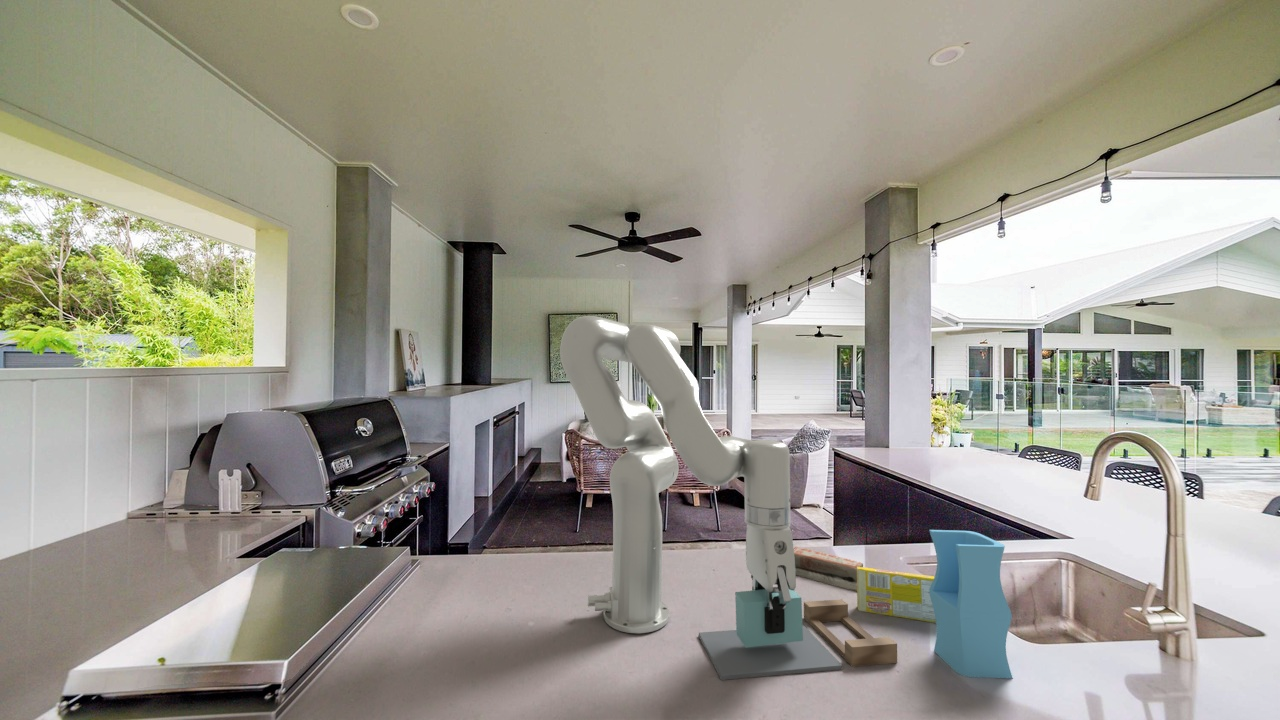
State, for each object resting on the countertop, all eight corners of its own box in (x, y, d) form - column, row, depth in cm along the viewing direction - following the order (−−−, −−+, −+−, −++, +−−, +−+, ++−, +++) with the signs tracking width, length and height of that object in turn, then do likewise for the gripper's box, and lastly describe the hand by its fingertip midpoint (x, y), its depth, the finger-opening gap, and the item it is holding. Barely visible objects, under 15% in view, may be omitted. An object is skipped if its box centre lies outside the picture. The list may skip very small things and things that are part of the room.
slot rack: (852, 666, 73) (852, 647, 73) (803, 617, 88) (803, 601, 88) (897, 662, 74) (897, 643, 74) (841, 615, 89) (841, 599, 89)
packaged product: (782, 553, 110) (796, 541, 117) (782, 573, 109) (796, 560, 117) (864, 572, 99) (873, 559, 107) (864, 595, 98) (873, 580, 106)
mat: (721, 680, 69) (721, 675, 69) (698, 636, 81) (698, 632, 81) (842, 669, 72) (842, 665, 72) (803, 628, 84) (803, 625, 84)
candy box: (949, 621, 88) (948, 577, 88) (952, 626, 86) (952, 581, 86) (856, 606, 93) (856, 565, 93) (858, 611, 91) (857, 569, 91)
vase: (930, 647, 79) (928, 529, 80) (976, 648, 78) (974, 530, 79) (961, 676, 71) (958, 545, 72) (1012, 678, 70) (1009, 547, 71)
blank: (803, 640, 75) (801, 597, 76) (745, 647, 74) (744, 603, 74) (791, 627, 79) (789, 586, 80) (736, 634, 78) (735, 592, 78)
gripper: (813, 528, 70) (815, 651, 69) (766, 500, 86) (767, 600, 85) (767, 530, 69) (769, 656, 68) (729, 502, 85) (729, 602, 84)
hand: (768, 623), depth 76 cm, fingers closed on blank, 4 cm apart
